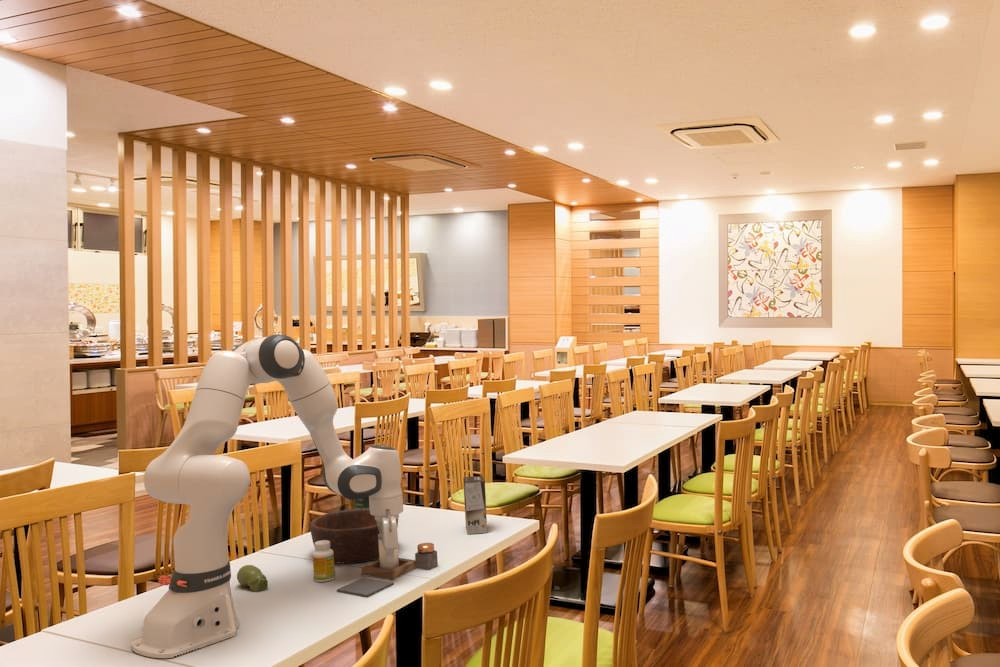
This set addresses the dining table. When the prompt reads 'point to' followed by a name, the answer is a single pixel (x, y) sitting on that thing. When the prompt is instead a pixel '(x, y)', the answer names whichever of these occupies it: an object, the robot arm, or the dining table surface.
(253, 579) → the pear
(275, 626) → the dining table surface
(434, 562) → the square wooden frame
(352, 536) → the wooden bowl
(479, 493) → the coffee box
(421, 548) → the plunger
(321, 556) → the supplement bottle
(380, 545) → the cylinder
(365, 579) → the pad
